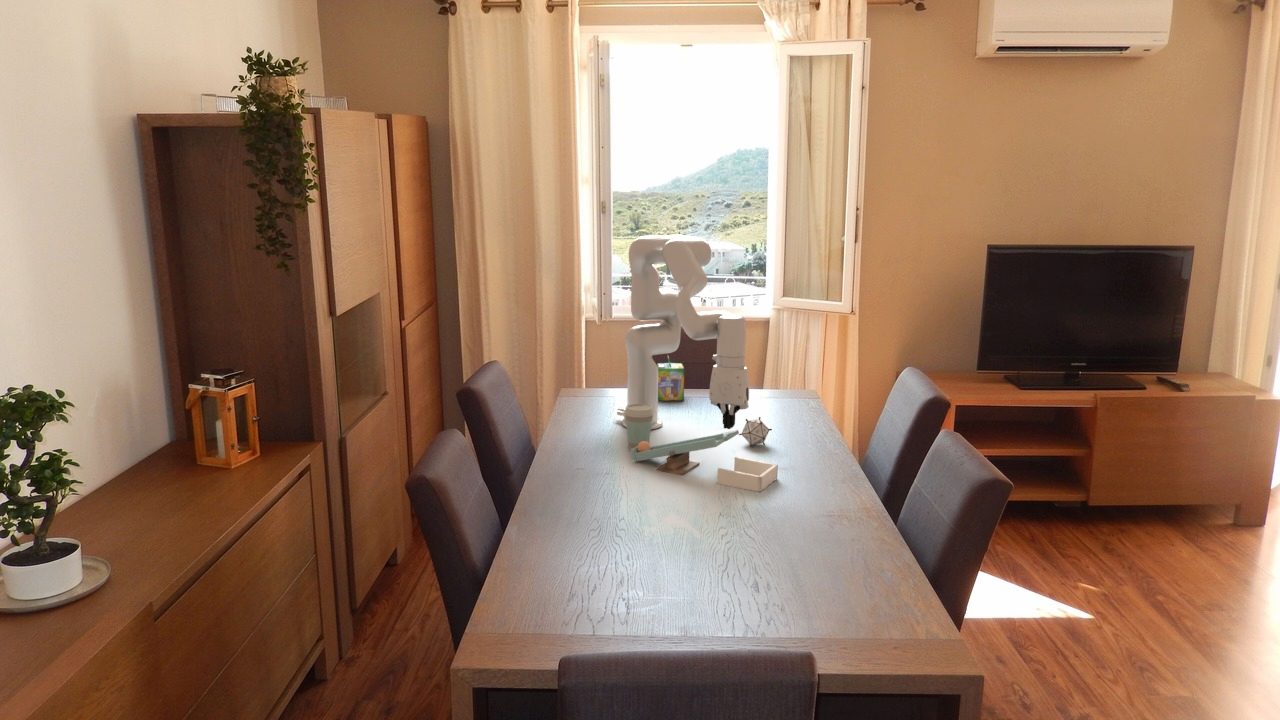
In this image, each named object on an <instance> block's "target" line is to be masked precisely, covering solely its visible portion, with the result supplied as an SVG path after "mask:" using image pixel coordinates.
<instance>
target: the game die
mask: <svg viewBox="0 0 1280 720" xmlns="http://www.w3.org/2000/svg"><path fill="white" fill-rule="evenodd" d="M772 430H773V429H772V428H768V426H766V424H765V423H764V422H763V421H762V420H761V416H759V417H758V419H752V420H751V419H750V420H748V419H747V418H745V425H744V427H743V429H742V431H741V433H740V432H739V434H738V436H742V437H743V439H745V440H746V441H747V442H748V443H749V448H752V447H753V445H761V444H762V445H764V446H766V443H765V441H766V438H767V436H768V434H769V432H770V431H772Z"/></svg>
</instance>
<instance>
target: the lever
mask: <svg viewBox="0 0 1280 720" xmlns="http://www.w3.org/2000/svg"><path fill="white" fill-rule="evenodd" d="M739 434H740V432H739V430H738V429H736V430H729V431H724V432H721V433H718V434H714V435H712V434H711V435H708V436H703V437H701V436H700V437H696V438H692V439H686V440H680V441H675V442H669V443H665V444H658V445H654V446H651V449H650V450H648V451H643V452H639V451H638V446H637V447H635V448H633V449H631V448H630V454H631V456H632V460H633V462H641V461H646V460H650V459H657V458H661V457H667V456H668V457H669V456H673V455H675V454H680V453H685V452H689V453H690V452H695V451H701V450H702V451H703V450H708V449H712V448H716V447H718V446H720V445H721V444H723V443H724V442H727V441H729V440H731V439H733V438H734V437H736V436H737V435H739Z"/></svg>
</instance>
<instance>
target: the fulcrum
mask: <svg viewBox="0 0 1280 720" xmlns="http://www.w3.org/2000/svg"><path fill="white" fill-rule="evenodd" d="M699 465H700V462H697V461H692V460H690V452H685V453H680V454H675V455H673V456H668V457H667V456H666V462H665V461H664V462H663V463H661V464H660V465H659V466H657V467H655V470H656V471H660V472H664V473H665V472H666V473H669V474H675V475H679V476H684V475H685V474H687V473H688V472H690V471H692V470H694V469H696V468H697V467H698V466H699Z"/></svg>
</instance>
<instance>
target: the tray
mask: <svg viewBox="0 0 1280 720" xmlns="http://www.w3.org/2000/svg"><path fill="white" fill-rule="evenodd" d="M733 467H734V469H733V470H731V469H725V468H720V467H719V468H717V478H716V479H717V481H716V483H717V484H718V485H723V486H727V487H732V488H737V489H742V490H747V491H752V492H757V493H761V492H763V491H764V490H765V489H767V488H768V487H769V486H770V485H771V484H773V483H774V482H775V481H776V480H775V479H777V480H778V470H779V469H778V467H779V465H778V464H776V463H771V462H766V461H760V460H755V459H751V458H745V457H739V456H735V457H734V466H733ZM774 480H775V481H774ZM773 481H774V482H773ZM772 482H773V483H772ZM769 484H770V485H769ZM768 485H769V486H768ZM767 486H768V487H767ZM763 489H764V490H763ZM762 490H763V491H762Z"/></svg>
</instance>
